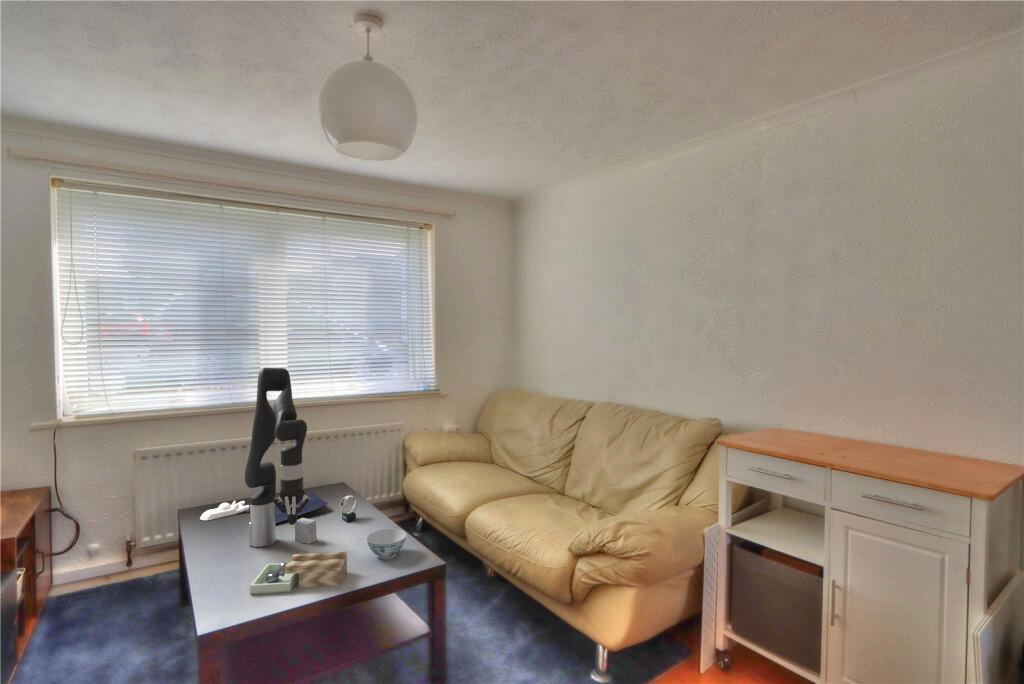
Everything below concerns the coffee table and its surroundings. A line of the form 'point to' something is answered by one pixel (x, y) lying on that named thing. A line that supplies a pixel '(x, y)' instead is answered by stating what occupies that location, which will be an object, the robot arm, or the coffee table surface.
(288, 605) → the coffee table surface
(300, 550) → the coffee table surface
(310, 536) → the medicine box
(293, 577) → the tray
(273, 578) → the puck
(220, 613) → the coffee table surface
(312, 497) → the blue flat panel
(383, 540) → the chinaware
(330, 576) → the slotted board
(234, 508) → the plane toy
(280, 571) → the puck
